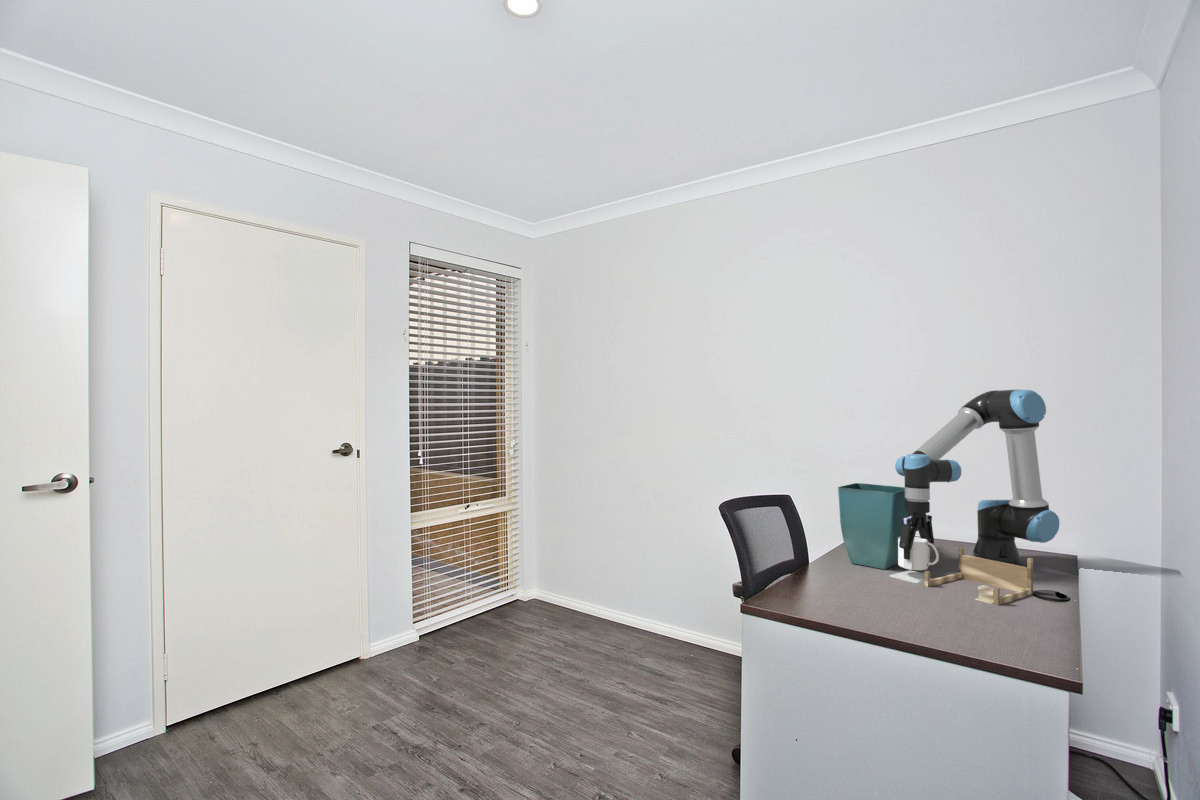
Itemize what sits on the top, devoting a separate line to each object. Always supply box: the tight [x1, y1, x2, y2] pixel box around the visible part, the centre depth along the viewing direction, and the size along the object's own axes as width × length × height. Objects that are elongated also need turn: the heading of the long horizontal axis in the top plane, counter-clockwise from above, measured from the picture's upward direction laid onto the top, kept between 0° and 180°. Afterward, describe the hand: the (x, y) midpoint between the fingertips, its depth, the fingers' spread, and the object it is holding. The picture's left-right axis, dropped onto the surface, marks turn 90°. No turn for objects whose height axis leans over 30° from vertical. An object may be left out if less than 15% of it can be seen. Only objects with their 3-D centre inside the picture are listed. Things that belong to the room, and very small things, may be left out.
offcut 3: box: [974, 597, 994, 605], centre depth 172 cm, size 5×4×2 cm
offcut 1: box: [977, 584, 995, 595], centre depth 172 cm, size 4×3×2 cm
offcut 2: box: [978, 592, 994, 602], centre depth 172 cm, size 4×4×2 cm
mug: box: [897, 536, 940, 571], centre depth 199 cm, size 12×9×9 cm
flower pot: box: [837, 482, 908, 570], centre depth 218 cm, size 20×20×28 cm
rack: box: [924, 544, 1034, 606], centre depth 182 cm, size 21×21×12 cm
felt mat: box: [889, 569, 925, 584], centre depth 199 cm, size 12×12×1 cm
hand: (916, 567), depth 199 cm, fingers closed on mug, 9 cm apart
